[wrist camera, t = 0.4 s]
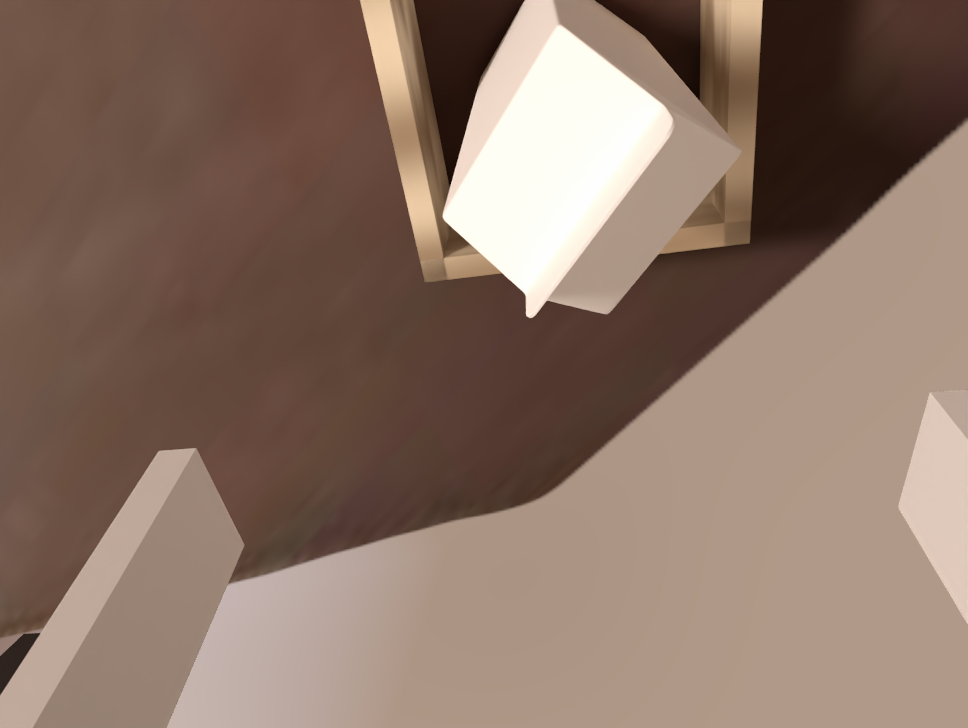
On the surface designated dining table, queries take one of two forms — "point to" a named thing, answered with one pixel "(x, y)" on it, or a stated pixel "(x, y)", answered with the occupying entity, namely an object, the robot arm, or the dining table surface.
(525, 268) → the milk
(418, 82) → the shelf bay
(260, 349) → the dining table surface
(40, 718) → the robot arm
